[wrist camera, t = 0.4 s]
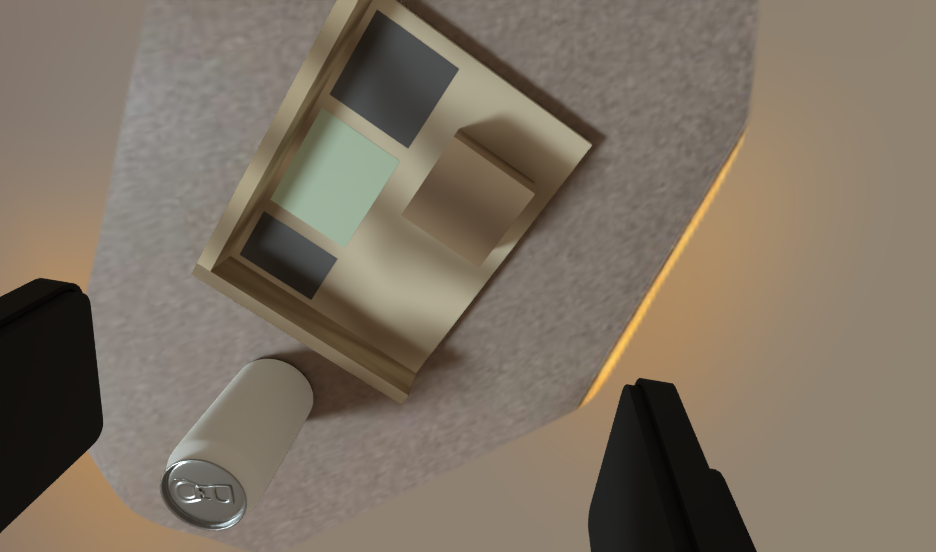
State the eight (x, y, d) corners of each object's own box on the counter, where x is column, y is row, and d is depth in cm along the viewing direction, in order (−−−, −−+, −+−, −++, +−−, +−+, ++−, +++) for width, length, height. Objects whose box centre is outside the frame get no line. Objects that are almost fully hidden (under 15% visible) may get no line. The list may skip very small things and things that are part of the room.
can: (232, 353, 48) (143, 450, 37) (311, 358, 48) (245, 457, 37) (243, 421, 51) (163, 532, 40) (318, 426, 50) (259, 539, 39)
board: (368, -21, 37) (350, -26, 33) (590, 142, 39) (596, 154, 36) (218, 253, 45) (191, 274, 41) (411, 375, 47) (401, 404, 44)
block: (459, 128, 39) (453, 136, 36) (534, 182, 40) (535, 193, 37) (409, 202, 41) (400, 215, 38) (482, 252, 42) (479, 268, 39)
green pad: (323, 106, 39) (321, 107, 39) (401, 160, 40) (400, 161, 40) (272, 198, 42) (270, 199, 42) (345, 246, 43) (344, 248, 43)
